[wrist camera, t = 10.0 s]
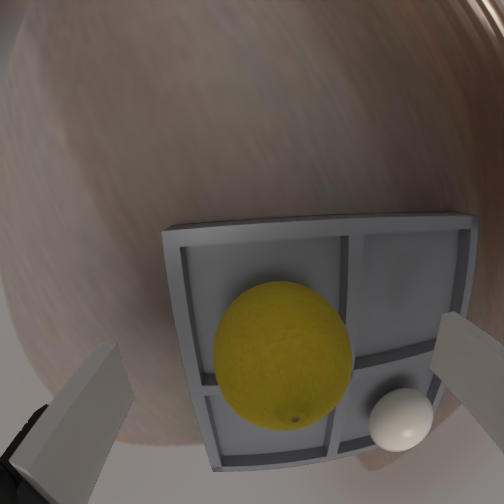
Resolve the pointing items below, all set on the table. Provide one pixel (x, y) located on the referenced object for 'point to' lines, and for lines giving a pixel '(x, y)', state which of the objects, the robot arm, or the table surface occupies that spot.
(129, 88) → the table surface
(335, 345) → the lemon
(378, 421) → the cream egg
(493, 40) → the table surface
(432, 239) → the compartment tray
